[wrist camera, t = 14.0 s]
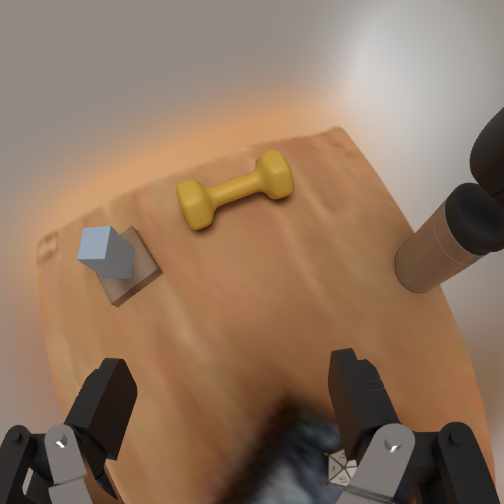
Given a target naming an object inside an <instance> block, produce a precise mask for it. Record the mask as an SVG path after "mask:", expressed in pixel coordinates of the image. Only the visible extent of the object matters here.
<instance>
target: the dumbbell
mask: <svg viewBox="0 0 504 504" xmlns="http://www.w3.org/2000/svg"><path fill="white" fill-rule="evenodd" d="M293 191H294V183H293V177H292V172H291V169H290V166H289V164H288V162H287V161H286V159H285V158H284V156H283V155H282V153H281V152H280V151H278V150H271V151H268V152H265V153H263V154H262V155H260V156H259V157H258V159H257V161H256V167H255V170H254V171H253V172H252V173H250V174H247V175H244V176H241V177H237V178H234V179H231V180H229V181H226V182H224V183H222V184H219V185H217V186H215V187H206V186H204V185H203V184H201V183H200V182H199V181H197V180H195V179H190V180H187V181H184V182H182V183H179V184H178V185H177V189H176V193H177V198H178V202H179V205H180V208H181V211H182V213H183V216H184V218H185V220H186V221H187V223H188V225H189V226H190V227H191V228H192V229H194V230H199V229H202V228H204V227H207V226H208V225H210V224H211V223H212V221H213V216H214V212H215V210H216V208H217V207H219V206H220V205H223V204H226V203H229V202H232V201H234V200H237V199H240V198H242V197H245V196H248V195H250V194H252V193H255V192H264V193H265V194H266V195H267V196H268V197H270V198H271V199H280V198H283V197H286V196H289V195H291V194H292V193H293Z"/></svg>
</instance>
